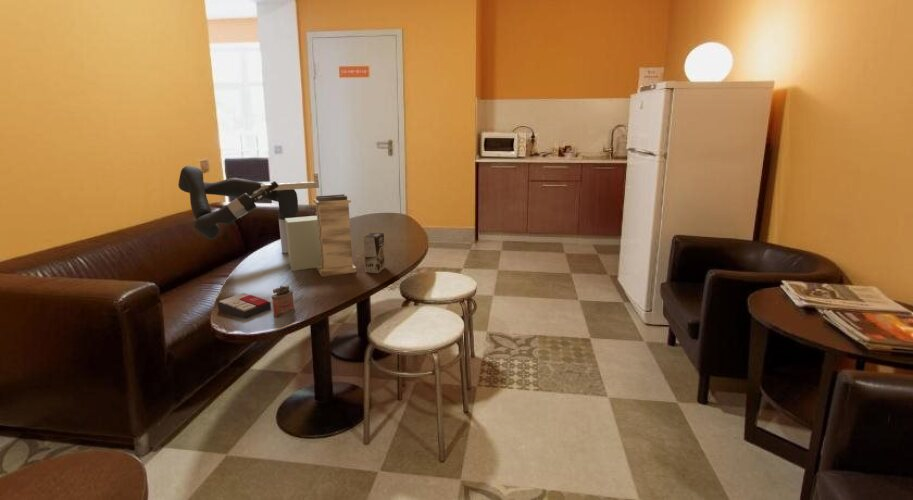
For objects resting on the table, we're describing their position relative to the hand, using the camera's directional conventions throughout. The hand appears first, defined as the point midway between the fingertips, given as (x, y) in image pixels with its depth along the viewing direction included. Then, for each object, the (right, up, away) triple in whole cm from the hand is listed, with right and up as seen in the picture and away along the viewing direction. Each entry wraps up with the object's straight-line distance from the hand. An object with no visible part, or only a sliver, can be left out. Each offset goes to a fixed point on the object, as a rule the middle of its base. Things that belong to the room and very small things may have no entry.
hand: (276, 183), depth 216 cm
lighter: (+18, -51, -42) cm, 68 cm away
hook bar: (+5, -2, +3) cm, 6 cm away
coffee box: (+42, -38, +7) cm, 57 cm away
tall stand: (+25, -38, +6) cm, 46 cm away
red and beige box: (+2, -51, -38) cm, 63 cm away
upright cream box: (+10, -36, +14) cm, 40 cm away
